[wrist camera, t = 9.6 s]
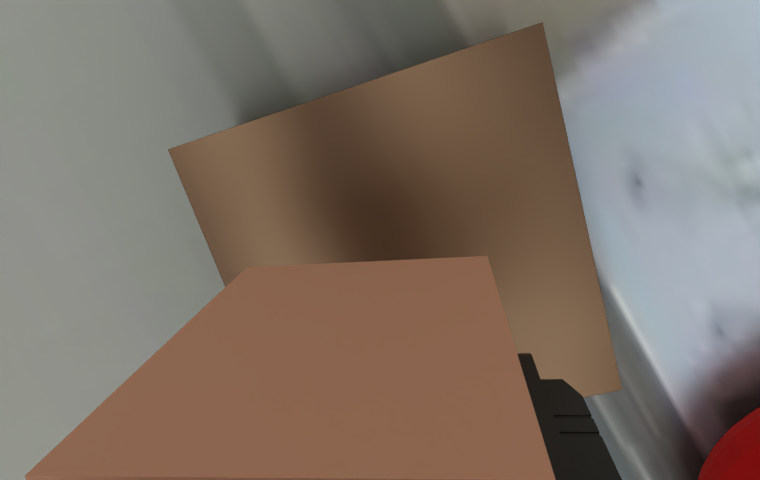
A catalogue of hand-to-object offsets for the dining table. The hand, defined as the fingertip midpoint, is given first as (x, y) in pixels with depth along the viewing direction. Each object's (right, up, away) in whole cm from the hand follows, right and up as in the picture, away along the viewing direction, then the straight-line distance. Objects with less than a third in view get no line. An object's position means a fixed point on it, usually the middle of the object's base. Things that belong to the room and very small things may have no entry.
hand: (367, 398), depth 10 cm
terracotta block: (0, 0, +1) cm, 1 cm away
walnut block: (+2, +4, +12) cm, 13 cm away
